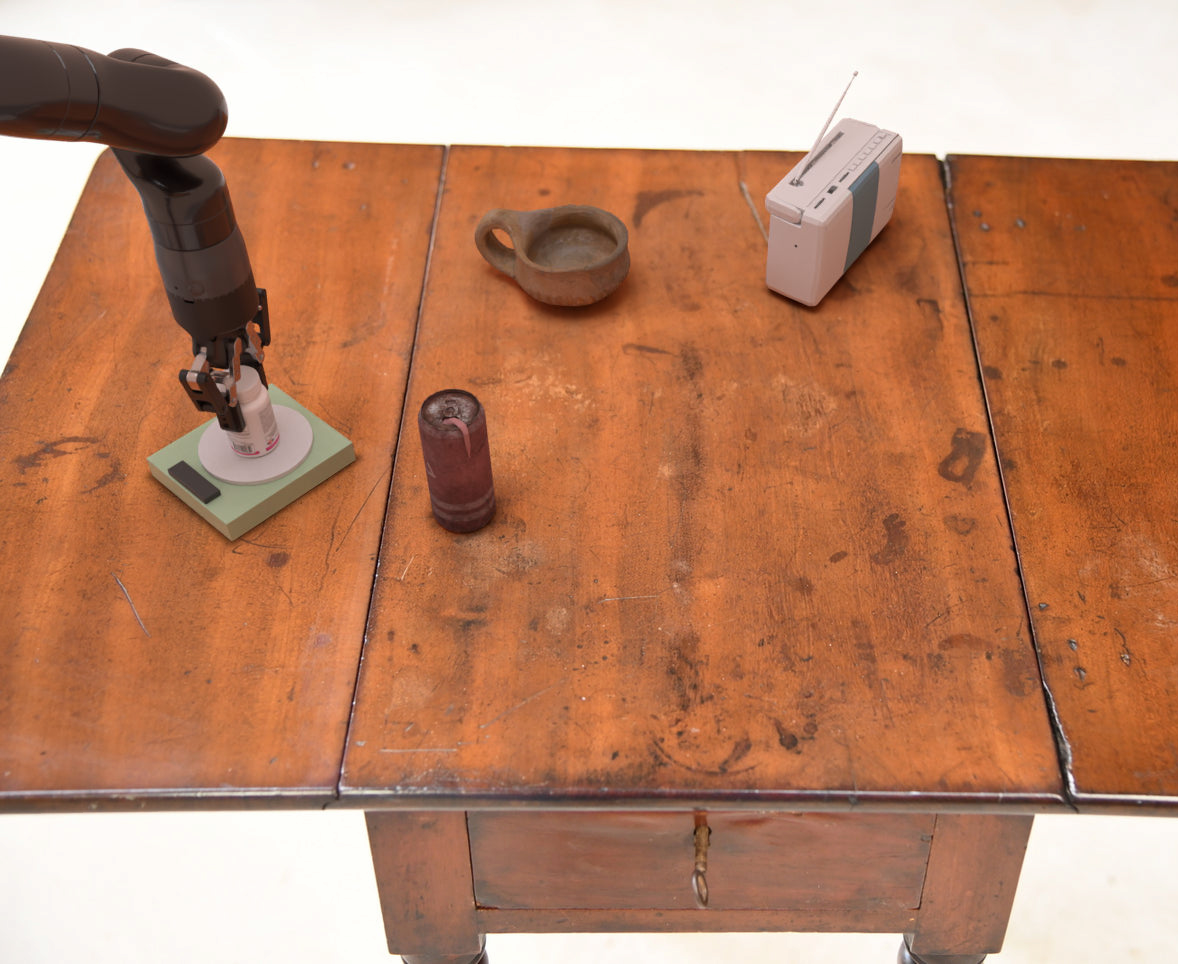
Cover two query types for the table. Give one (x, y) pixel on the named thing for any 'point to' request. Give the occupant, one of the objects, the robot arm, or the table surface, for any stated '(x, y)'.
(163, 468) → the scale
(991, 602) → the table surface
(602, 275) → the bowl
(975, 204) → the table surface
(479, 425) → the can
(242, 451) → the pill bottle
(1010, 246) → the table surface
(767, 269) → the radio
